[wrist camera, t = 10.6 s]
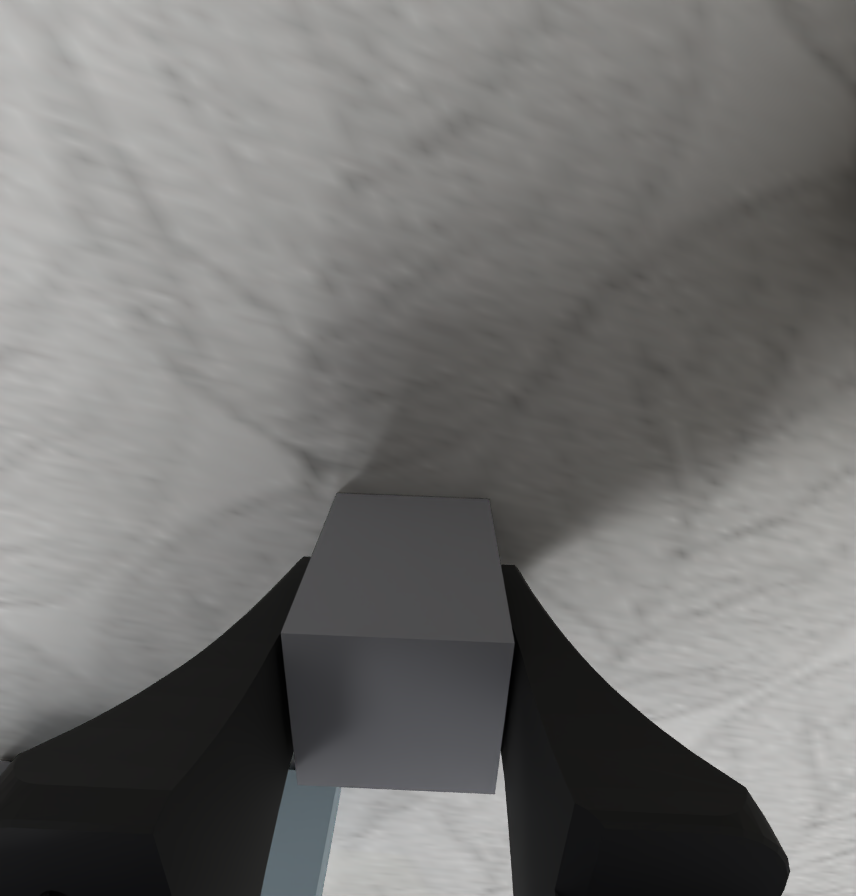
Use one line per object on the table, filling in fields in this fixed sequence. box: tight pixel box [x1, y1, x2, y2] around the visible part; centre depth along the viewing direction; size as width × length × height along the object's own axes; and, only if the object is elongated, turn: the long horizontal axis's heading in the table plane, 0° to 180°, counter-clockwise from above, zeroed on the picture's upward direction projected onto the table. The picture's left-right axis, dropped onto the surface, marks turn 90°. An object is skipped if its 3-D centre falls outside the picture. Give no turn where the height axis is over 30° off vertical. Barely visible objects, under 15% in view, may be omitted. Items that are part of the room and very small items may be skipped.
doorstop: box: [281, 493, 515, 794], centre depth 12 cm, size 4×4×5 cm
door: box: [0, 761, 341, 896], centre depth 15 cm, size 12×2×5 cm, turn 89°
